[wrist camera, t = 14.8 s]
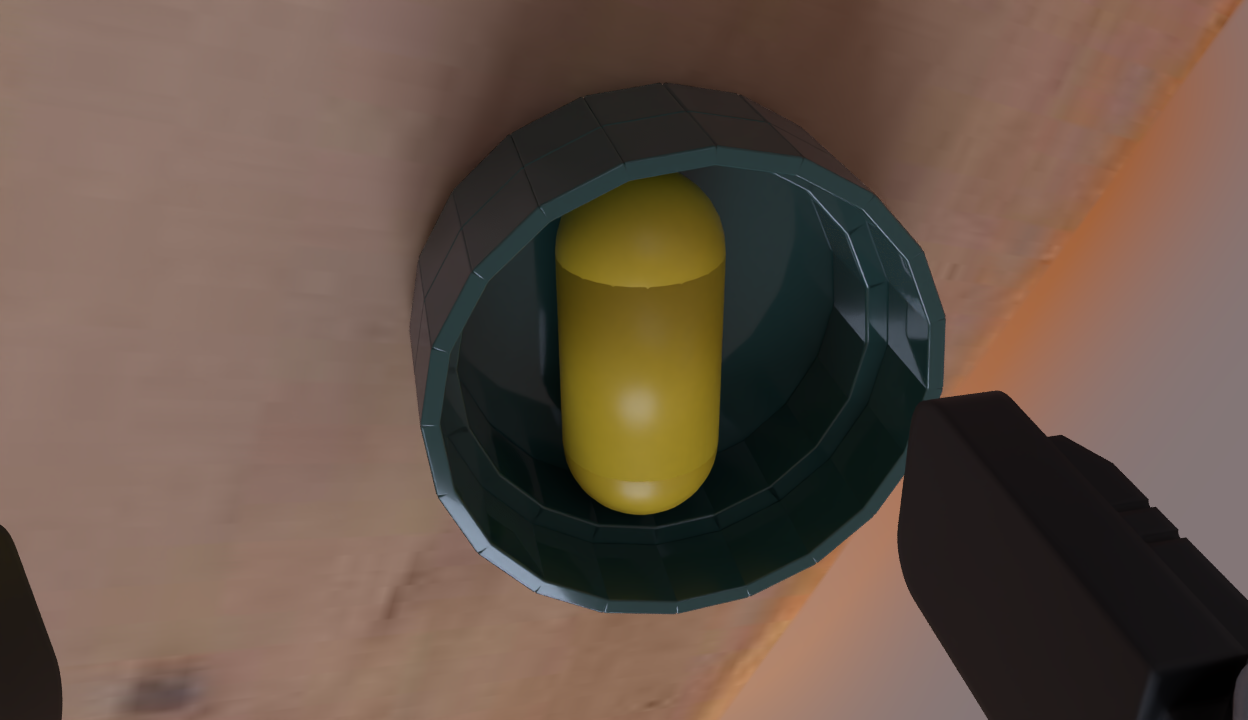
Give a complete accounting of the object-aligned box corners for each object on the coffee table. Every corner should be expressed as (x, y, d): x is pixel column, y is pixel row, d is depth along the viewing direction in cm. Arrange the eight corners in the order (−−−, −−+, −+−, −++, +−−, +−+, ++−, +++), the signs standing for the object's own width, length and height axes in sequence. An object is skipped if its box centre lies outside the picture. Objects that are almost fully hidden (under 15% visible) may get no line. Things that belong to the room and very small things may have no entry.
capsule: (652, 128, 33) (517, 164, 31) (766, 173, 30) (625, 217, 27) (651, 440, 38) (535, 492, 36) (747, 506, 35) (627, 568, 33)
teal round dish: (548, -12, 30) (590, 45, 25) (945, 200, 36) (1045, 283, 31) (334, 413, 35) (333, 533, 30) (714, 542, 41) (768, 662, 36)
